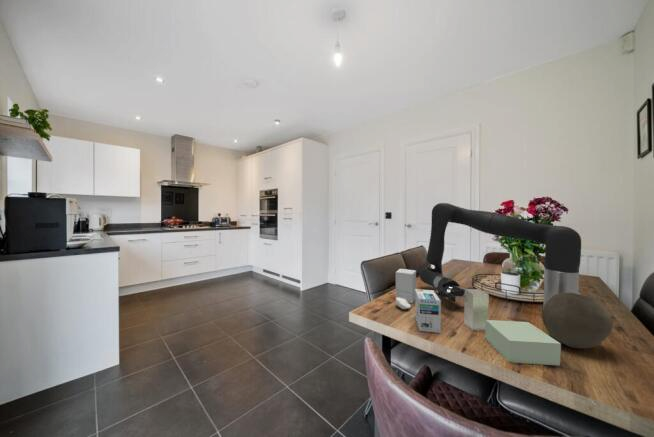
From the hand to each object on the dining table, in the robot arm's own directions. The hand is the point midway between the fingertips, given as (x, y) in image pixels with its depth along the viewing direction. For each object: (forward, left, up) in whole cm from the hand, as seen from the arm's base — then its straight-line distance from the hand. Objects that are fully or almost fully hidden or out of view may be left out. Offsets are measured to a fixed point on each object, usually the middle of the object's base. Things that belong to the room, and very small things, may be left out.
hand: (466, 299), depth 89 cm
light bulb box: (+16, +5, -7) cm, 18 cm away
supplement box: (+16, -19, -7) cm, 26 cm away
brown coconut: (-22, +17, -7) cm, 29 cm away
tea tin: (0, +6, -7) cm, 9 cm away
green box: (-4, +20, -7) cm, 22 cm away
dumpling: (+20, -9, -7) cm, 23 cm away
